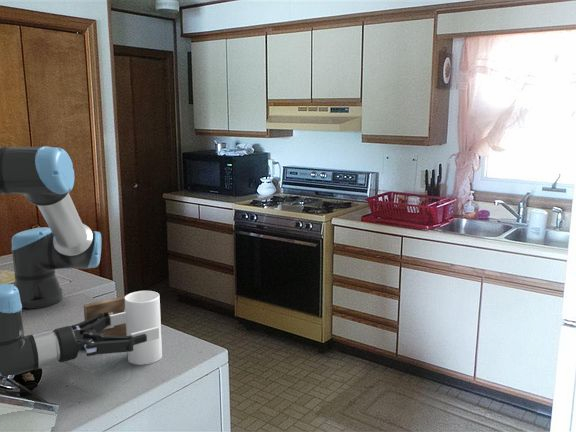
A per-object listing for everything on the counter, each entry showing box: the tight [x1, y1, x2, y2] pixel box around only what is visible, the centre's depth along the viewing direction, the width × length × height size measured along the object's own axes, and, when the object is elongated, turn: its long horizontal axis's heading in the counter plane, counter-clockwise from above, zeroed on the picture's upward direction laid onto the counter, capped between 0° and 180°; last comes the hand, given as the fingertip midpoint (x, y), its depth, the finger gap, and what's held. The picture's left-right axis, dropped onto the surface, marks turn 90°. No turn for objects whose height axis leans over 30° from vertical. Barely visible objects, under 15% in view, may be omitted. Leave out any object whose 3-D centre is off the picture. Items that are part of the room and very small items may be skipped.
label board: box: [83, 295, 127, 336], centre depth 138 cm, size 16×8×12 cm, turn 128°
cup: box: [124, 290, 163, 366], centre depth 128 cm, size 8×8×16 cm
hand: (146, 323), depth 127 cm, fingers open, 13 cm apart
